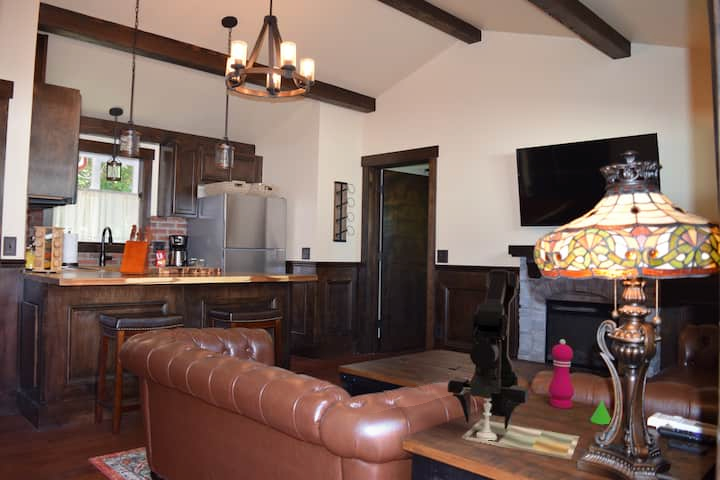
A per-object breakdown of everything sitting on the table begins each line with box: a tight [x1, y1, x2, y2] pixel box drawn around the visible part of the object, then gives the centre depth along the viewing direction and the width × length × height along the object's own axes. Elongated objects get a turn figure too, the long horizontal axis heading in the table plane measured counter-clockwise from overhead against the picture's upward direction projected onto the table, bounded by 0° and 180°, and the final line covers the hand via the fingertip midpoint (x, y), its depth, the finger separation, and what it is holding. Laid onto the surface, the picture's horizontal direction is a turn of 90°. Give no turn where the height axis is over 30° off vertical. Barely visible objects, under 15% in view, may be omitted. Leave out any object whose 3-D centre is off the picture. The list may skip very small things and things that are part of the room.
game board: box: [461, 419, 580, 460], centre depth 133 cm, size 17×24×1 cm
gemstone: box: [590, 400, 612, 425], centre depth 151 cm, size 6×6×6 cm
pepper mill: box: [548, 338, 575, 409], centre depth 166 cm, size 7×7×20 cm
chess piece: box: [475, 398, 498, 441], centre depth 134 cm, size 5×5×10 cm
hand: (486, 425), depth 133 cm, fingers open, 9 cm apart
